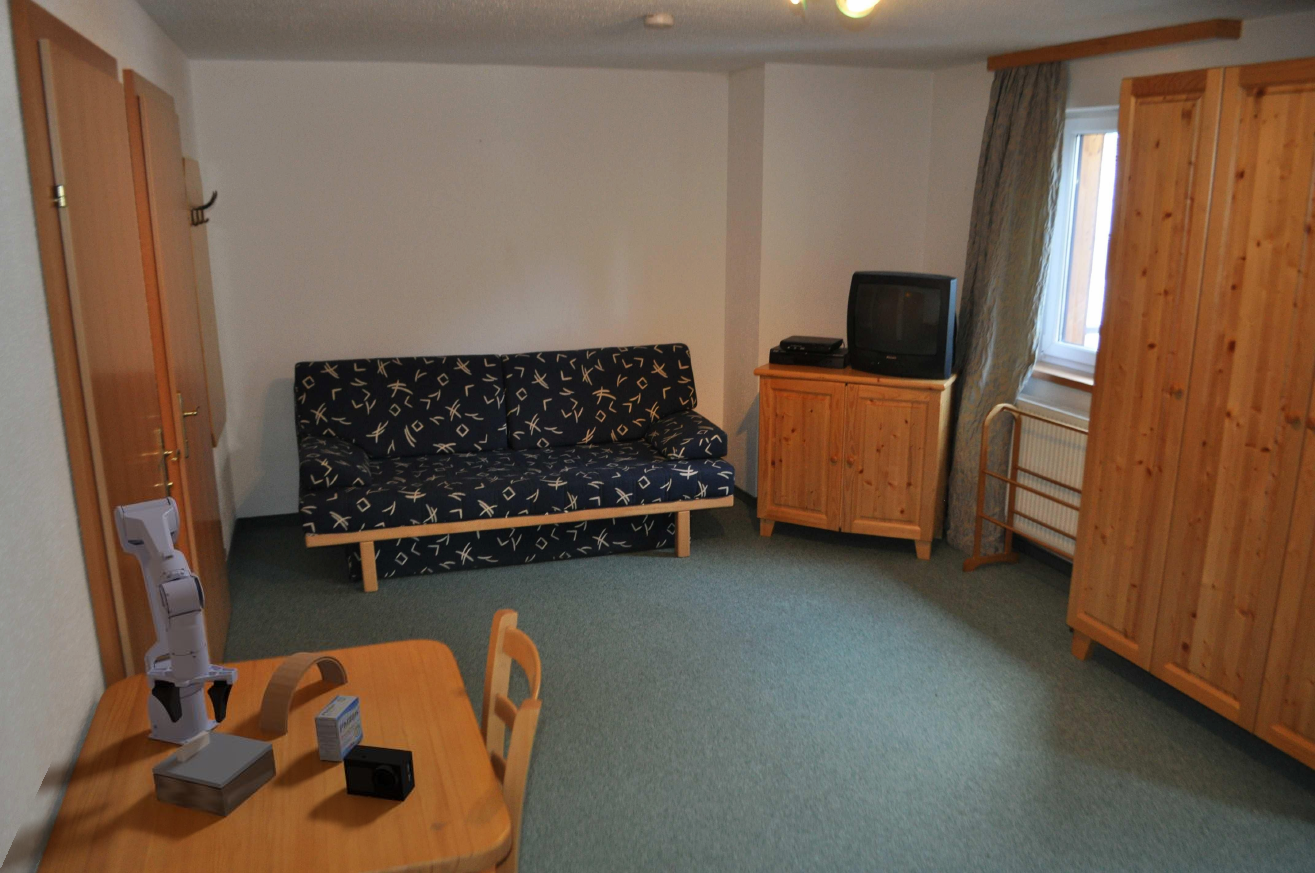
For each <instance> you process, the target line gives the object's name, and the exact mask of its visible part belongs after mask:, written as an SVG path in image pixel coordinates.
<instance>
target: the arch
mask: <svg viewBox="0 0 1315 873" xmlns="http://www.w3.org/2000/svg"><path fill="white" fill-rule="evenodd" d="M314 665H316V666H317V668H318V670H319V673H320V677H321V682H325V683H330V684H331V683H332V684H339V685H346V684H348V683H349V680H348V679H349V678H348V674H347V672H346V669H345V667H344V664H343V663H342V662H341V661H340V660H339V659H338V658H336V657H335V656H332V655H328V654H327V655H326V654H322V653H320V654H319V653H314V652H313V653H312V652H306V651H300V652H295V653H293V654H292V655H290V656H288V657H287V658H286V659H284V660H283V662H281V663H280V665H279V666H278V667H277V668H276V669H275V671H274V673H273V674H272V675H271V678H270V679H269V681H268V683H267V685H266V688H265V690H264V694H263V696H262V699H261V703H260V710H259V724H258V725H259V726H258V727H259V731H260V732H267V733H272V734H278V735H282V736H283V735H284V736H286V735H287V734H288V733H289V731H288V730H289V728H288V726H289V725H288V724H289V723H288V721H289V712H290V709H291V708H290V707H291V703H292V700H293V696H294V694H295V691H296V689H297V687H298V685H299V683H300V681H301V680H302V678H303V677H304V676H305V674H306V673H307V672H308V671H309V670H310V669H311V668H312V667H313V666H314Z"/></svg>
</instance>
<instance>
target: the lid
mask: <svg viewBox="0 0 1315 873" xmlns="http://www.w3.org/2000/svg"><path fill="white" fill-rule="evenodd" d="M270 749H274V748H273V743H272V742H268V741H262V740H259V739H258V740H257V739H254V738H248V737H245V736H244V737H243V736H239V735H235V734H228V733H226V732H225V733H224V732H219V731H215V730H206V731H202V732H201V733H200V734H198V735H197V736H195V737H194V738H193V739H191V740H190V741H188V742H187V743H185V744H184V745H181V746H180V747H178V748H177V749H176V750H175V751H174V752H173V753H172V754H171V755H169V756H168V757H166V758H164V759H163V760H161V761H160V762H158V764H156V765H155V766H153V767H152V768H151V770H152V774H154V773H156V774H161V775H165V776H169V777H174V778H178V779H182V780H187V781H191V782H195V783H200V784H204V785H208V786H213V787H217V788H223V787H224V786H225V785H226V784H228V783H229V782H230V781H231V780H233V779H234V778H235V777H236V776H238V775H239V774H240V773H241V772H243V771H244V770H245V769H246V768H248V767H249V766H250V765H251V764H253V763H254V762H255V761H256V760H258V759H259V758H260V757H261V756H263V755H264V754H265V753H267V752H268V751H269V750H270Z"/></svg>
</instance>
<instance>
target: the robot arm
mask: <svg viewBox="0 0 1315 873" xmlns="http://www.w3.org/2000/svg"><path fill="white" fill-rule="evenodd" d="M113 516H114V521H115V527H116V532H117V534H118V538H119V543H120V546H121V548H122V550H123V552H124V553H127V554H132V555H135V557H136V559H137V561H138V563H139V565H140V568H141V572H142V578H143V580H144V581H143V582H144V585H145V586H144V587H145V591H146V595H147V600H148V603H149V608H150V613H151V617H152V621H153V625H154V626H153V627H154V630H155V634H156V639H157V641H156V642H155V643H153V645H152V646H151V647H150V648H149V649H148V650H147V652H145V656H144V664H145V675H146V680H147V684H148V687H149V690H150V692H149V694H148V698H147V705H146V706H147V712H148V719H149V723H150V729H151V732H150V733H149V734H148V735H147V736H148V738H149V739H153V740H158V741H163V742H167V743H172V744H177V745H181V746H183V745H184V744H185V743H187V742H188V741H190V740H191V739H193V738H194V737H195V736H197V735H198V734H200V733H201V732H202V731H206V730H210V731H213V729H215V728H216V727H217V726H219V725H220V724H221V723H222V722H223V721H224V720H225V719H226V717H227V708H228V702H229V697H230V694H231V692H232V688H233V686H234V684H235V683H236V681H237V680H238V679H239V675H238V669H237V668H235V667H234V668H230V667H224V666H220V665H217V664H212V663H210V657H209V651H208V643H207V638H206V629H205V624H204V623H205V621H204V617H203V615H204V614H203V610H204V609H205V594H204V589H203V586H202V582H201V581H200V578H199V576H198V575H197V574H195V572H191V569H190V567H189V564H188V561H187V559H186V556H185V555H184V553H183V552H182V551H180V550H178V549H175V548H174V544H175V543H176V542H178V536H179V534H180V532H179V531H180V530H179V529H180V526H181V525H180V515H179V509H178V505H177V503H176V500H175V499H174V498H172V497H171V496H167V497H166V498H165V497H164V498H159V499H154V500H148V501H144V502H143V501H142V502H139V503H138V502H137V503H133V504H128V505H127V504H126V505H118V506H116V507H115V508H114V511H113ZM168 655H169V656H168ZM164 656H167V657H164ZM161 657H163V658H161ZM158 658H160V659H158ZM205 683H213V684H212V685H211V686H210V687H209V689H207V691H206V692H207V695H208V696H209V698H210V700H211V701H210V702H211V703H212V708H213V713H214V714H213V715H214V719H215V720H214V719H210V718H208V713H207V704H206V700H205V699H206V698H205V693H204V688H205V687H206V685H205Z"/></svg>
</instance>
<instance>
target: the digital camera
mask: <svg viewBox="0 0 1315 873" xmlns="http://www.w3.org/2000/svg"><path fill="white" fill-rule="evenodd" d="M342 762H343V770H344V776H345V777H344V778H345V786H346V794H347V795H350V796H359V797H366V798H374V799H380V800H389V801H397V802H405V801H406V799H407V798H408V797H409V795H410V794H411V792H412V791H413V790H414V788H415V787H416V781H415V770H414V760H413V751H412V750H407V749H406V750H405V749H399V748H390V747H383V746H382V747H381V746H373V745H363V744H357V745H355V746H354V747H353V748H352V749H351V750H350V751H349V752H348V753H347V755H346V756H345V757H344V758H343V761H342Z"/></svg>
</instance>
